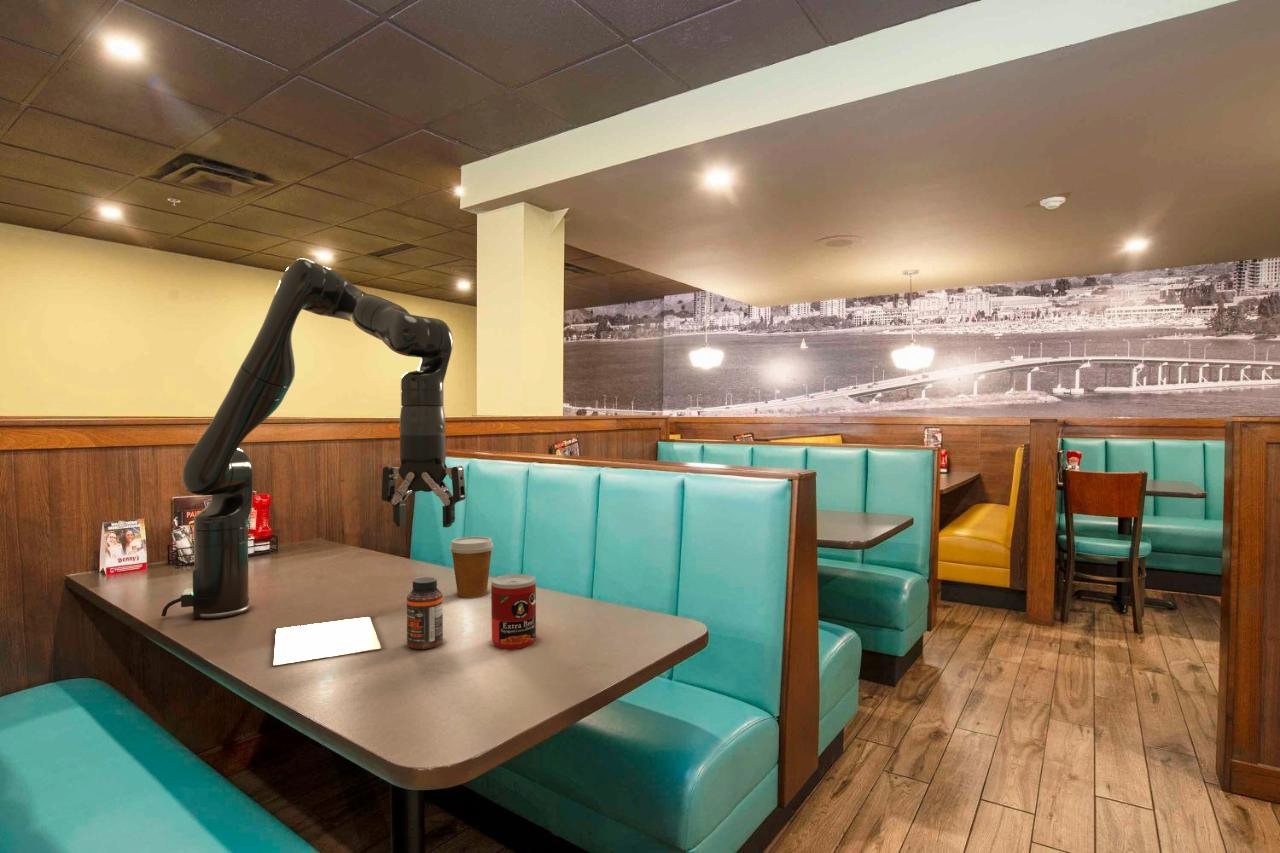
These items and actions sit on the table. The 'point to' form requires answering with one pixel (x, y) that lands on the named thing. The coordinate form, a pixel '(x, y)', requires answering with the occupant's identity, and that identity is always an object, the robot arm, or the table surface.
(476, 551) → the disposable coffee cup
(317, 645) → the placemat
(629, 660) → the table surface
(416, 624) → the supplement bottle
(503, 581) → the canned food
